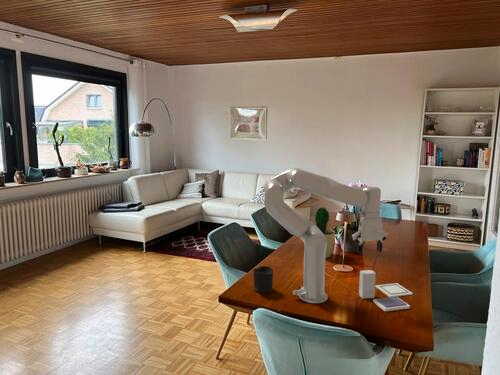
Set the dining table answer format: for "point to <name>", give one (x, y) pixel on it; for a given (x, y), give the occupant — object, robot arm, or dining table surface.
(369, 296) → the skincare box
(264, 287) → the pen holder
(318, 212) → the potted cactus
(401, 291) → the print card
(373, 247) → the dining table surface
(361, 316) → the dining table surface
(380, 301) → the ink pad
